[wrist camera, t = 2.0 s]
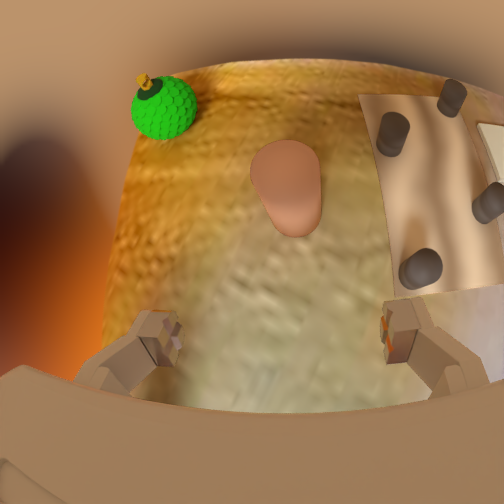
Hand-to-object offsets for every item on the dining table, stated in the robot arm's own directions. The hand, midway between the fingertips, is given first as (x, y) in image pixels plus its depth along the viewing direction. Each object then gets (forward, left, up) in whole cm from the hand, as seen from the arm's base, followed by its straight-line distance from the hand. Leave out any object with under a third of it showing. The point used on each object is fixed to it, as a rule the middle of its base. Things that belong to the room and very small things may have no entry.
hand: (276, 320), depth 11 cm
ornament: (+14, -24, -16) cm, 32 cm away
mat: (-29, -17, -16) cm, 37 cm away
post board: (-16, -13, -16) cm, 26 cm away
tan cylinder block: (0, -10, -16) cm, 19 cm away
